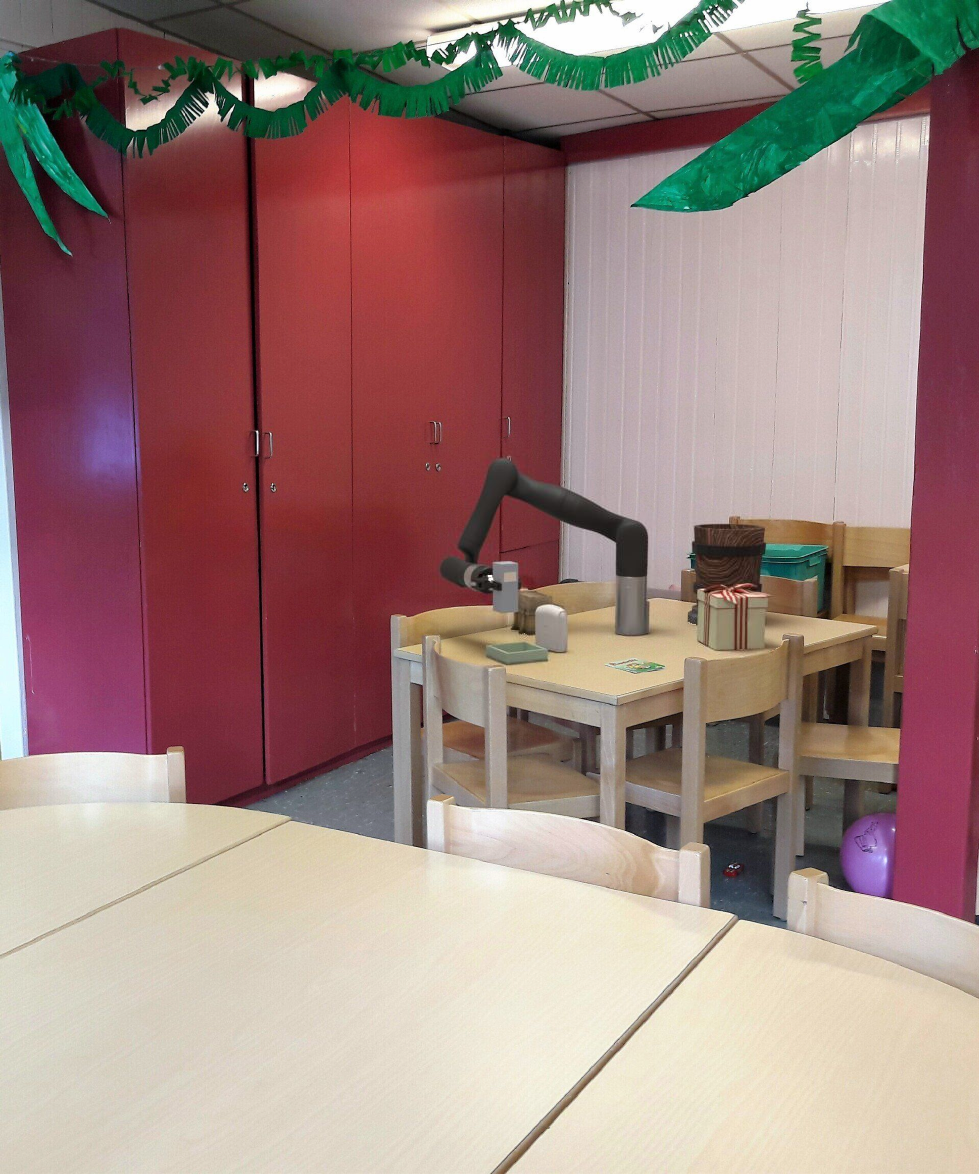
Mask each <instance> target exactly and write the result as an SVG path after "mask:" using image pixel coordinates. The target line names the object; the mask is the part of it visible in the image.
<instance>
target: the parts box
mask: <svg viewBox="0 0 979 1174" xmlns="http://www.w3.org/2000/svg"><path fill="white" fill-rule="evenodd" d="M492 567H493V580H494V581H497V582H500V583H502V591H497V590H493V593H492V611H493V612H496V613H500V614H508V613H514V612H518V592H519V590H518V577H519V563H518V562H514V561H510V560H509V561H493V562H492Z"/></svg>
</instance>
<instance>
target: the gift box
mask: <svg viewBox="0 0 979 1174" xmlns="http://www.w3.org/2000/svg"><path fill="white" fill-rule="evenodd" d="M750 587H758V586H757V585H753V584H749V583H746V584H737V585H736V586H734V587H732V588H729V587H726V586H724V585H714V586H710V587H708V588H706V589H698V592H697V600H699V601H698V625H697V626H696V627H697V628H696V640H697V641H699V642H700V643H702V644H703V645H705V644H706V645H705V646H707V645H708V646H707V647H709V646H710V647H709V648H711V649H712V648H713V650H714V649H715V650H714V651H737V650H736V649H748V650H761V649H760V648H764V649H765V640H766V639H765V638H766V637H765V634H766V626H765V619H766V620H767V614H766V613H767V609H768V606H769V598H774V597H775V596H773V595H771V594H769V593H765V592H762V591H761V592H756V591H752V590H750ZM731 649H732V650H731Z"/></svg>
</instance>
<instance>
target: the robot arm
mask: <svg viewBox="0 0 979 1174" xmlns="http://www.w3.org/2000/svg"><path fill="white" fill-rule="evenodd" d="M504 497H509V498H512V499H516V500H518V501H521V502H522V503H525V504H527V505H530V506H532V507H533V508H535V509H537V510H538V511H540V512H542V513H545V514H546V515H548V516H551V517H552V518H554V519H556V520H558V521H561V522H563V523H565V524H567V525H571V526H573V527H575V528H579V529H581V530H586V531H590V532H594V533H597V534H599V535H601V536H603V537H605V538H607V539H608V540H610V541H612V542H614V543H615V597H614V598H615V600H614V601H615V602H614V603H615V604H614V606H615V607H614V612H615V613H614V616H615V617H614V633H615V634H618V635H622V636H623V635H624V636H642V635H645V634H649V633H650V606H651V605H650V601H649V600H648V598H647V597H648V569H649V568H648V567H649V564H648V563H649V557H648V556H649V535H648V534H649V533H648V529H647V528H646V526H645V525H644V523H642V522H640V521H638V520H635V519H632V518H629V517H625V516H623V515H620V514H617V513H615V512H612V511H609V510H607V509H606V508H604V507H602V506H601V505H599V504H598V503H596V502H594V501H592V500H591V499H588V498H587V497H585V496H583V495H581V494H578V493H577V492H574V491H572V490H570V489H568V488H566V487H563V486H559V485H557V484H556V485H555V484H551V483H546V482H541V481H539V480H538V481H537V480H535V479H533V478H531V477H529V476H527V475H525V474H523V473H522V472H520V471H518V468H517V465H516V463H515V462H514V461H513V460H512V459H510V458H506V457H499V458H497V459H495V460H493V461H492V462H491V463H490V464H489V465H488V467H487V470H486V476H485V481H484V483H483V487H482V490H481V493H480V495H479V498H478V501H477V502H476V505H475V507H474V509H473V511H472V513H471V515H470V517H469V518H468V520H467V522H466V525H465V527H464V529H463V530H462V533H461V535H460V537H459V539H458V541H457V544H456V545H457V546H456V547H457V549H458V551H460V552H461V553H462V554H463V555H464V559H462V558H459V557H457V556H453V555H450V556H447V557H445V558H443V559H442V561H441V562H440V564H439V570H438V571H439V573H440V575H441V577H442V578H443V579H445V580H447V581H448V582H451V583H453V584H454V585H456V586H458V587H460V588H469V589H471V590H472V591H475V592H478V593H482V594H485V595H490V594H493V590H497V591H502V583H500V582H497V581H494V580H493V566H489V565H484V564H479V563H478V562H479V558H480V553H481V550H482V548H483V547H484V543H485V542H486V540H487V537H488V536H489V534H490V533H489V532H490V530H491V527H492V524H493V521H494V519H495V516H496V513H497V511H498V509H499V507H500V505H501V502H502V501H503V500H504ZM521 589H522V582H521V578H520V576H518V591H519V590H520V591H521Z"/></svg>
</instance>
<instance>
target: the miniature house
mask: <svg viewBox="0 0 979 1174" xmlns="http://www.w3.org/2000/svg"><path fill="white" fill-rule="evenodd" d="M542 605H555V606H558V607H560V608H562V609H564V610H565V606H563V605H561V604H558V603H555V602H554V598H553V596H552V595H547V594H546V593H545V594H544V593H541V592H538V590H523V591H521V590H520V591H518V612H513V621H512V625H511V628H510V631H511V630H518V631H517V632H518V634H519V635H526V634H527V636H535V612H536V609H537V608H538V607H539V606H542ZM524 633H525V634H524Z"/></svg>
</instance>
